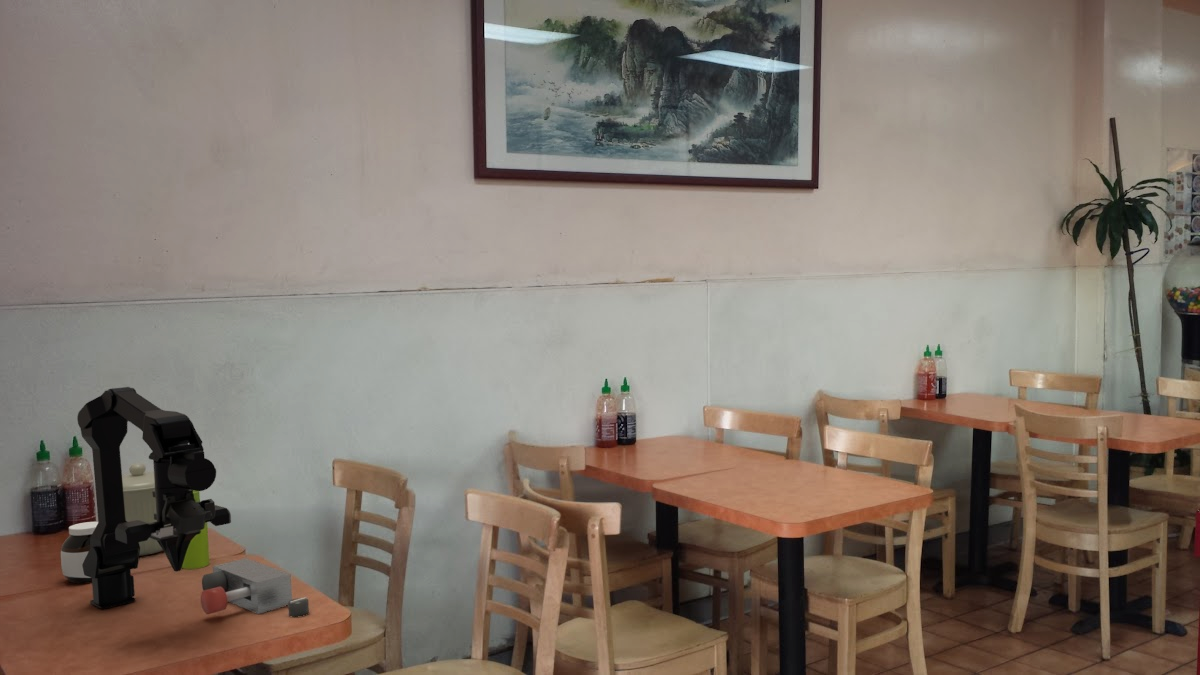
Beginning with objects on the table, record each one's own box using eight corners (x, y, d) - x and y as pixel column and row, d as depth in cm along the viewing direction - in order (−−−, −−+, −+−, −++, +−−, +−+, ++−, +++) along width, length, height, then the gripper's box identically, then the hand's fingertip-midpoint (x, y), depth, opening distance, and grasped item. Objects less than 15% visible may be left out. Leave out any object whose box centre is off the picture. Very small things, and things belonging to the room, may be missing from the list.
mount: (258, 614, 187) (256, 582, 186) (214, 595, 199) (212, 566, 199) (292, 604, 192) (290, 573, 191) (247, 587, 204) (245, 558, 204)
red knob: (212, 616, 182) (210, 592, 182) (201, 611, 185) (200, 588, 185) (272, 600, 191) (271, 577, 190) (261, 595, 194) (260, 573, 193)
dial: (295, 618, 184) (294, 603, 183) (285, 614, 186) (284, 600, 186) (312, 613, 186) (311, 599, 186) (302, 609, 189) (302, 595, 188)
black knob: (212, 599, 192) (211, 576, 192) (202, 594, 195) (201, 572, 195) (270, 584, 201) (269, 562, 201) (259, 580, 204) (258, 559, 204)
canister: (199, 546, 239) (194, 459, 237) (129, 565, 223) (123, 472, 222) (154, 538, 248) (149, 454, 247) (83, 556, 233) (78, 466, 232)
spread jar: (77, 587, 208) (73, 532, 207) (47, 580, 214) (44, 527, 213) (130, 572, 218) (127, 519, 217) (100, 566, 224) (97, 514, 223)
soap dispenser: (171, 569, 219) (166, 479, 218) (195, 560, 226) (190, 473, 225) (192, 571, 217) (186, 480, 216) (215, 562, 223) (210, 474, 222)
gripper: (137, 500, 166) (142, 592, 167) (242, 481, 180) (247, 566, 181) (111, 492, 174) (116, 580, 175) (214, 474, 188) (219, 556, 188)
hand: (177, 570), depth 180 cm, fingers closed
